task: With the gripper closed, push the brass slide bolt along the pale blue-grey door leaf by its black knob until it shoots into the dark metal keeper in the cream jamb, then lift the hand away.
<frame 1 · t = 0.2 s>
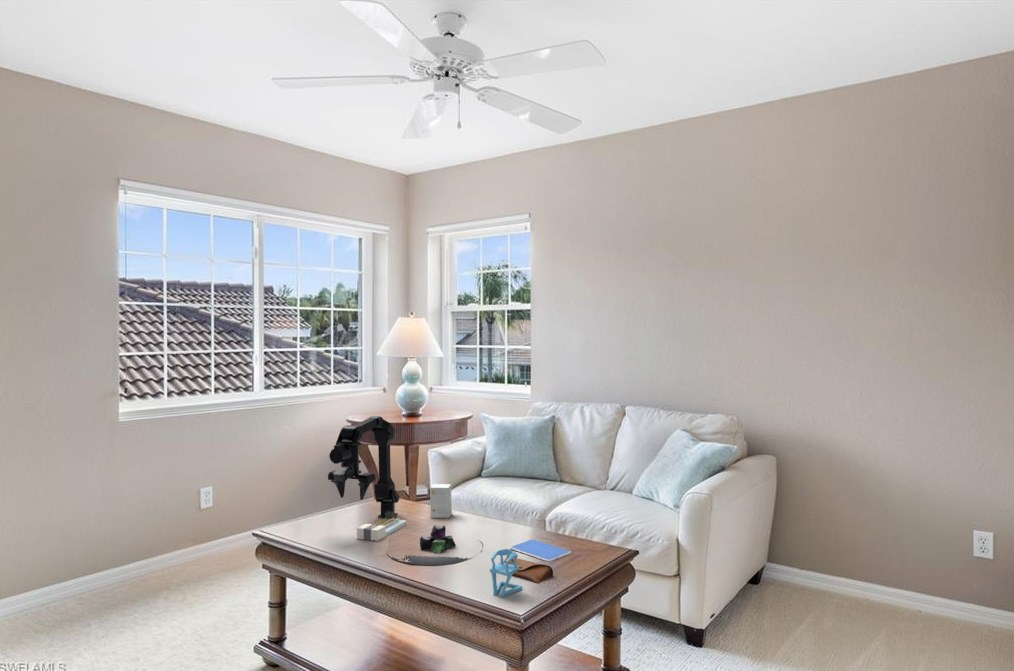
hand: (351, 498, 245), 14 cm above the table, fingers open, 9 cm apart
small box: (441, 516, 270), on the table
chair: (504, 591, 189), on the table
sunglasses case: (523, 575, 203), on the table
tablet computer: (540, 553, 224), on the table
bolt: (384, 519, 251), point 4 cm above the table, slide at 0.0 cm
door and jamb: (382, 531, 249), on the table
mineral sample: (435, 550, 228), on the table
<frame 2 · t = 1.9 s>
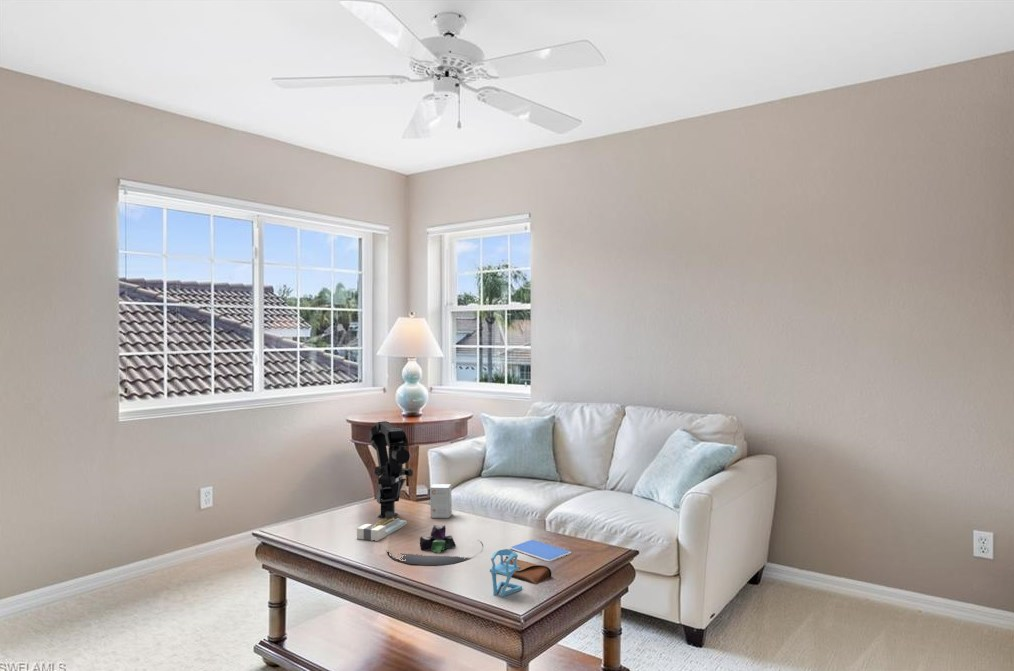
hand: (395, 497, 259), 11 cm above the table, fingers closed
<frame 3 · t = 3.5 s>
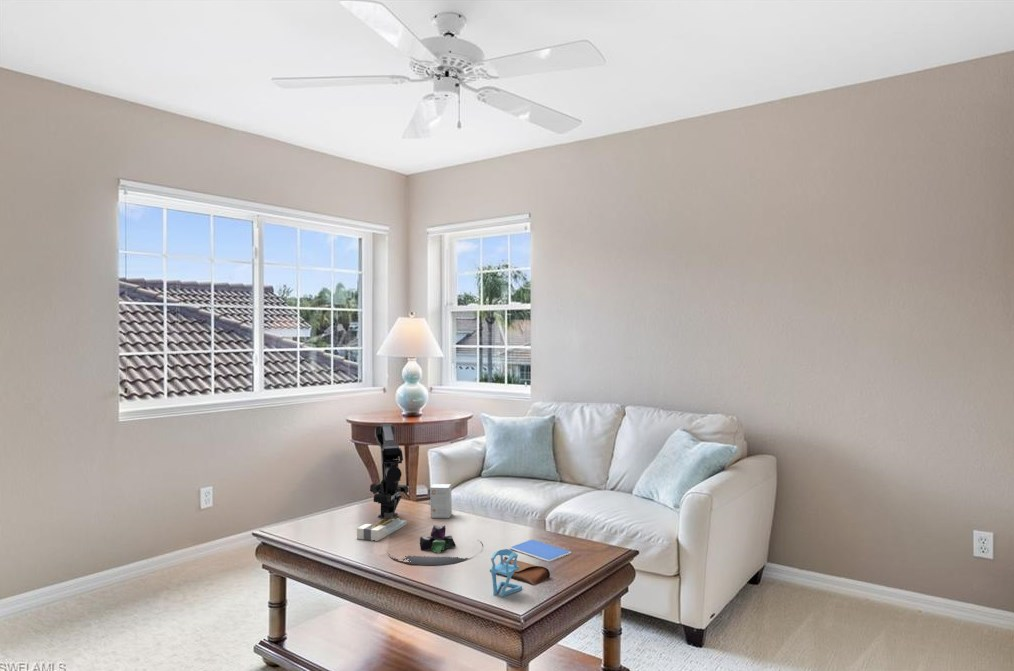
hand: (391, 514, 256), 5 cm above the table, fingers closed
bolt: (383, 520, 250), point 4 cm above the table, slide at 0.9 cm, touching gripper
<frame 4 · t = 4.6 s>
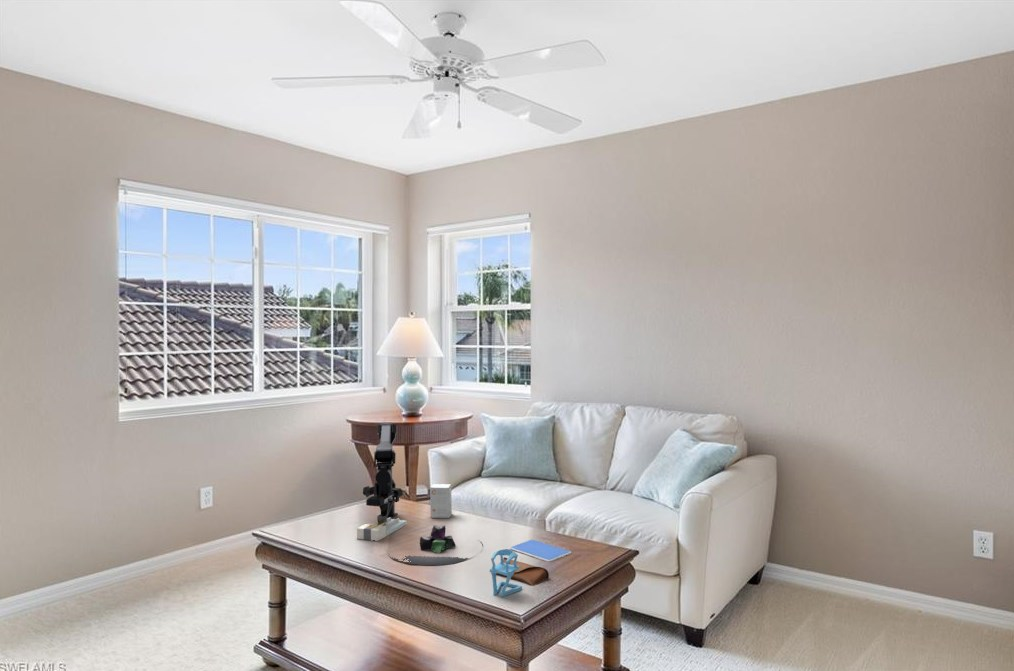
hand: (385, 518, 251), 5 cm above the table, fingers closed
bolt: (376, 524, 245), point 4 cm above the table, slide at 6.0 cm, touching gripper
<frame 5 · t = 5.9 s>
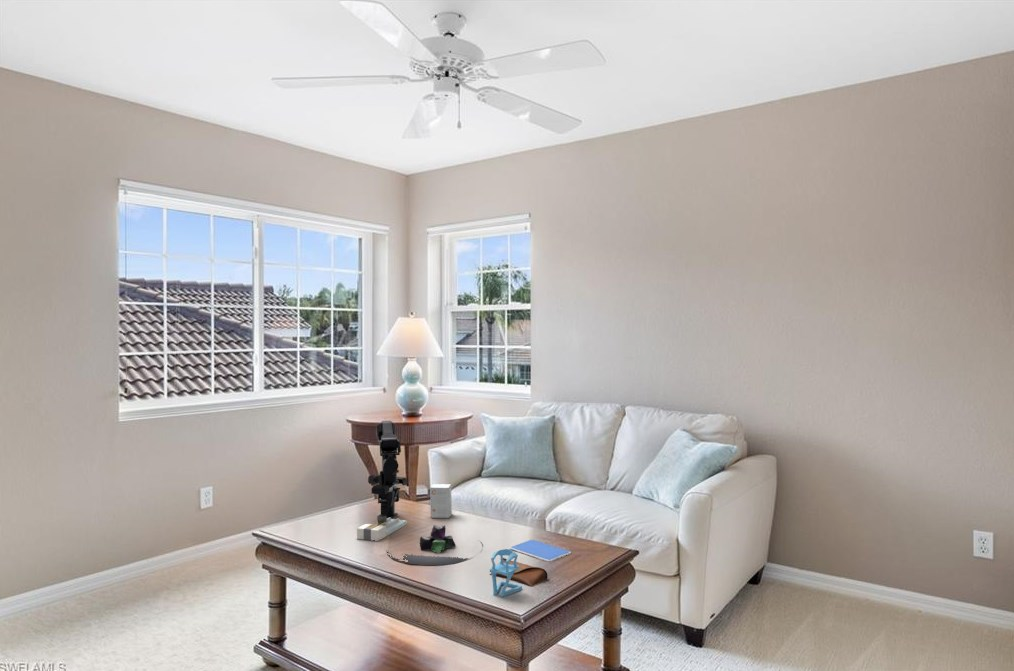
hand: (390, 506, 255), 8 cm above the table, fingers closed
bolt: (376, 524, 245), point 4 cm above the table, slide at 6.0 cm
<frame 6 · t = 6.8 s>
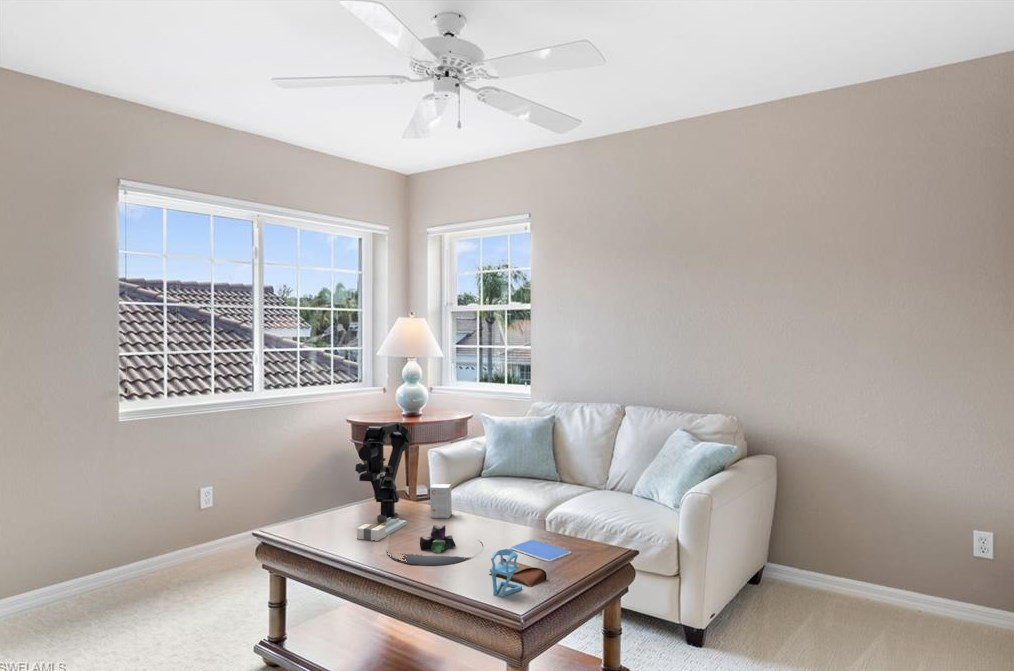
hand: (376, 494, 261), 12 cm above the table, fingers closed
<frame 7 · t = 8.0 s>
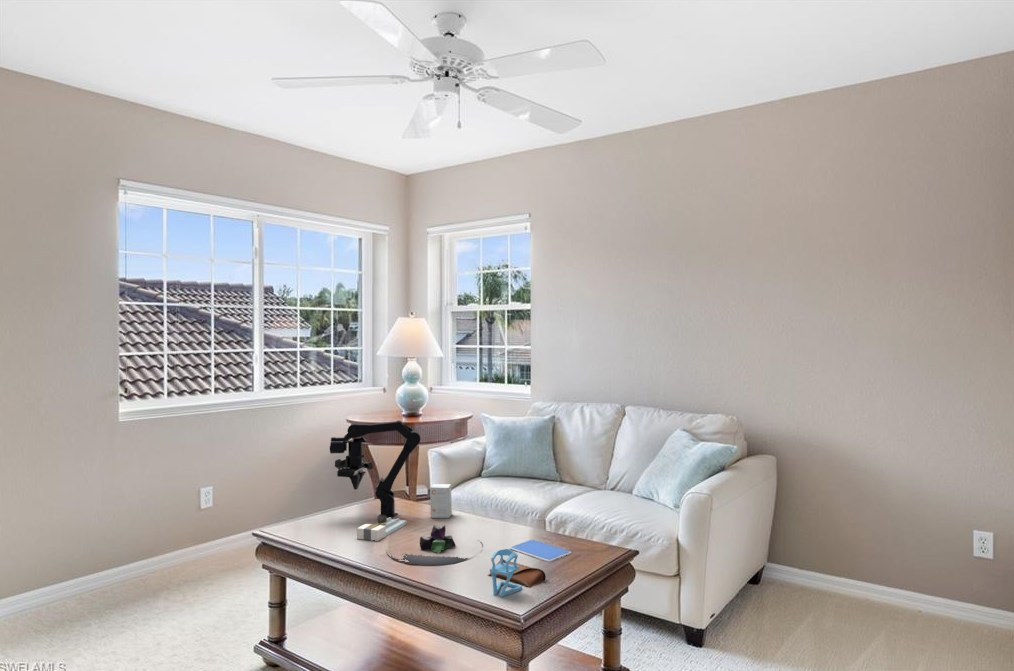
hand: (355, 489, 269), 12 cm above the table, fingers closed
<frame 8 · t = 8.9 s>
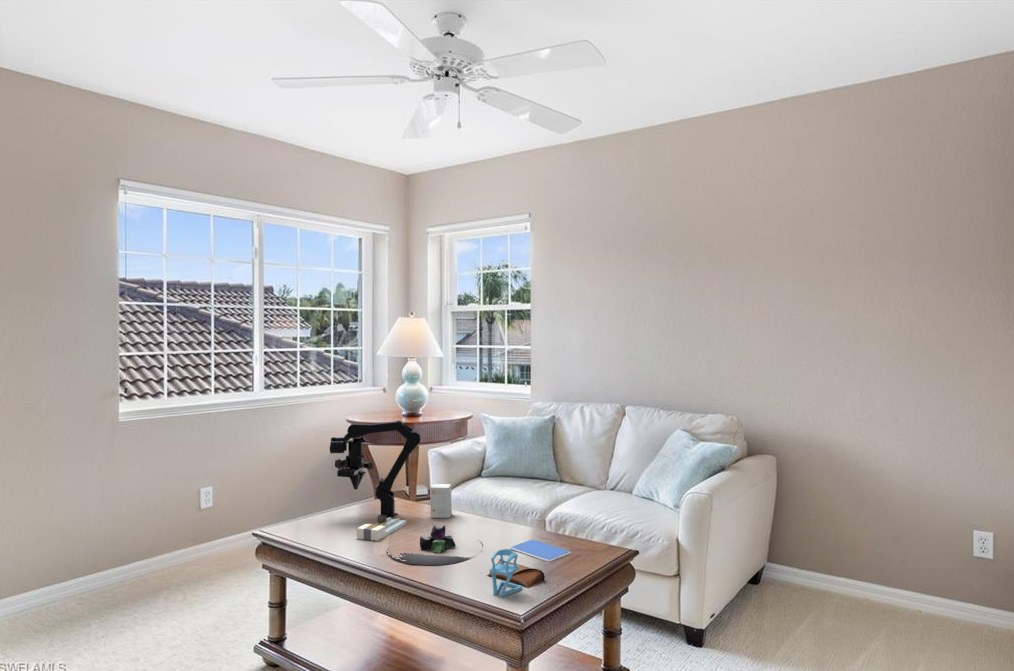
hand: (355, 489, 269), 12 cm above the table, fingers closed
at the end: bolt slide at 6.0 cm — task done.
